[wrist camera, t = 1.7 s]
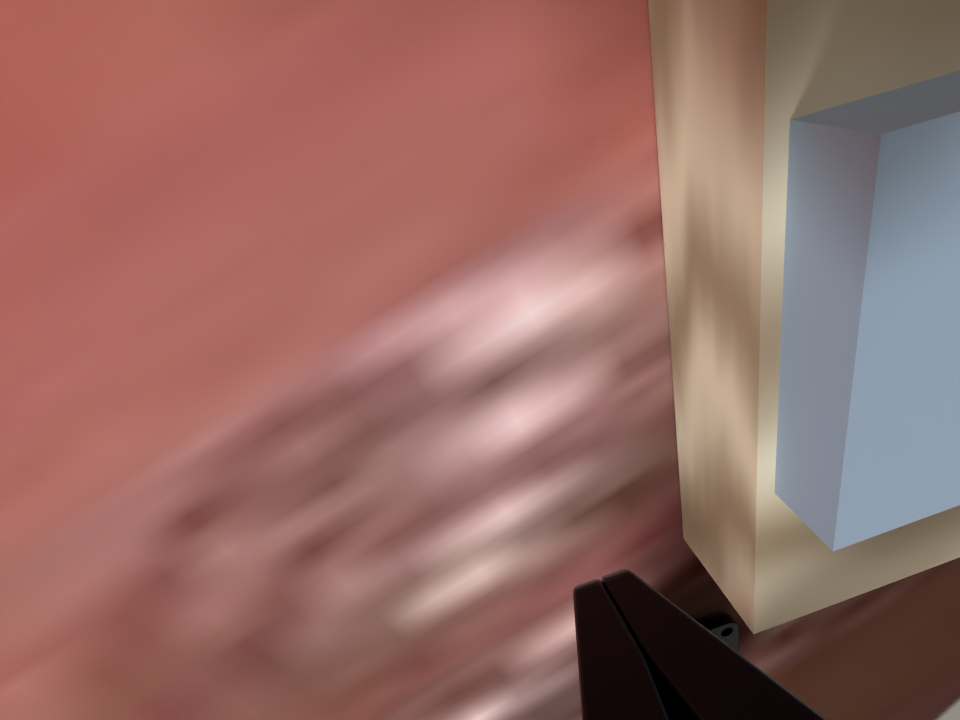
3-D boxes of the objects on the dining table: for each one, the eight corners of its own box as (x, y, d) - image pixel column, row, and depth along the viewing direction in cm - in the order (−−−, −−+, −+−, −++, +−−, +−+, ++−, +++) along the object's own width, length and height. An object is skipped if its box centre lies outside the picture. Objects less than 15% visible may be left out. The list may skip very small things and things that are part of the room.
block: (983, 419, 16) (1065, 466, 14) (774, 493, 15) (833, 551, 13) (1082, 35, 11) (1222, 33, 9) (789, 119, 11) (881, 134, 9)
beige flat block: (956, 441, 22) (1072, 514, 19) (683, 538, 21) (753, 634, 18) (1134, -317, 12) (1452, -458, 9) (634, -204, 11) (773, -314, 8)
